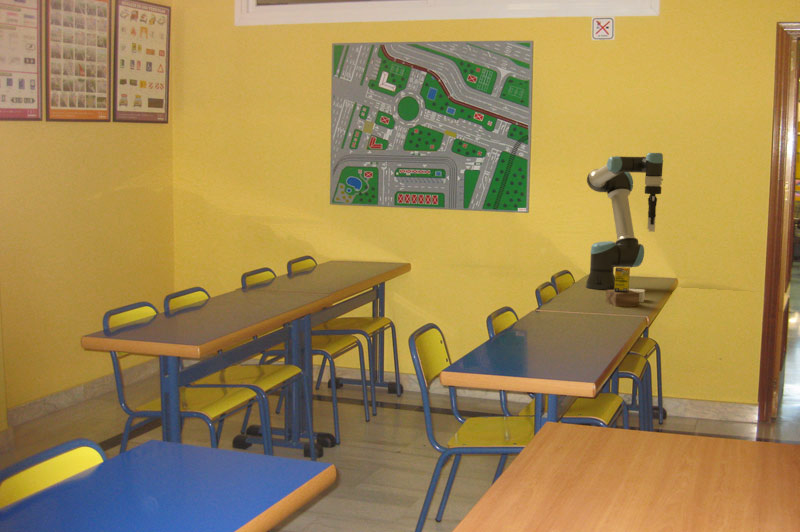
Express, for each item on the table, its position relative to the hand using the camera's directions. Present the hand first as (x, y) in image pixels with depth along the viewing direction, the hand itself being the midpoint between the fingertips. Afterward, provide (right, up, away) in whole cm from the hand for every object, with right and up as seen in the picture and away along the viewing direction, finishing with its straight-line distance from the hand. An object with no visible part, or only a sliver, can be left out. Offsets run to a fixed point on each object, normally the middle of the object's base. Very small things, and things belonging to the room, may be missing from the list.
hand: (650, 230), depth 412 cm
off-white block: (-10, -33, -9) cm, 36 cm away
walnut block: (-19, -35, -19) cm, 44 cm away
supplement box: (-19, -29, -20) cm, 40 cm away
